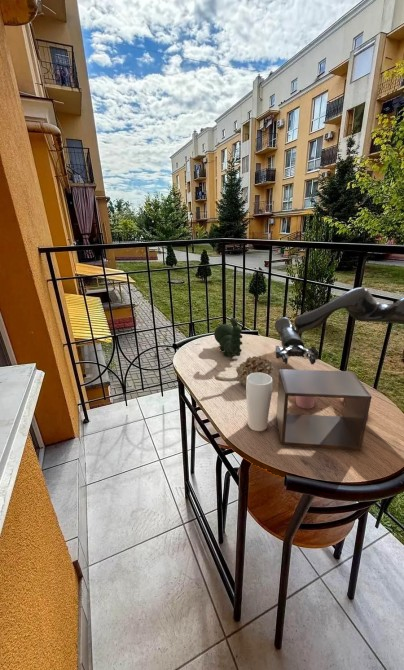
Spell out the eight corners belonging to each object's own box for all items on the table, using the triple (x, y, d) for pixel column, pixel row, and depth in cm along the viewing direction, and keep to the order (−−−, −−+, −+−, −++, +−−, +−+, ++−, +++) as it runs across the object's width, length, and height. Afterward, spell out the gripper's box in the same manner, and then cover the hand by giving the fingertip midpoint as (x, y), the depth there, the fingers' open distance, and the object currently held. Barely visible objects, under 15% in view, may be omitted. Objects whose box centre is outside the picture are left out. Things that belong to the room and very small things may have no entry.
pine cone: (262, 373, 106) (262, 349, 103) (277, 384, 98) (279, 359, 95) (209, 386, 99) (208, 361, 95) (221, 400, 90) (221, 373, 87)
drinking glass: (273, 433, 75) (276, 383, 70) (248, 435, 75) (249, 385, 69) (265, 417, 81) (268, 371, 76) (242, 419, 81) (243, 373, 76)
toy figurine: (247, 363, 118) (228, 338, 140) (249, 322, 110) (229, 302, 132) (225, 366, 116) (210, 340, 138) (226, 324, 108) (210, 304, 130)
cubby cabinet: (344, 419, 79) (352, 371, 74) (361, 450, 68) (371, 396, 63) (276, 415, 82) (279, 369, 76) (281, 445, 71) (285, 392, 65)
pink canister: (311, 399, 89) (315, 371, 86) (315, 409, 84) (319, 379, 81) (294, 398, 90) (296, 370, 86) (297, 408, 85) (299, 379, 81)
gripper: (273, 333, 108) (278, 350, 93) (312, 334, 106) (323, 351, 91) (272, 351, 111) (277, 370, 96) (310, 352, 109) (320, 372, 94)
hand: (299, 361), depth 93 cm, fingers open, 8 cm apart
